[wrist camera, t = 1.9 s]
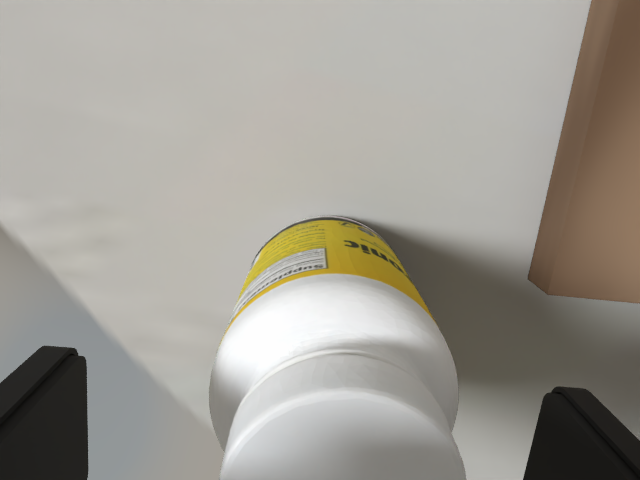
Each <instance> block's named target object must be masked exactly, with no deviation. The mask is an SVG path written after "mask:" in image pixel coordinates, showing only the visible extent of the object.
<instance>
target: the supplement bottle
mask: <svg viewBox="0 0 640 480" xmlns="http://www.w3.org/2000/svg"><path fill="white" fill-rule="evenodd" d="M458 400H459V387H458V378H457V373H456V368H455V364H454V360H453V357H452V355H451V352H450V350H449V348H448V345H447V343H446V341H445V338H444V337H443V335H442V333H441V331H440V329H439V327H438V326H437V324H436V322H435V320H434V319H433V317H432V315H431V313H430V312H429V310H428V308H427V306H426V305H425V303H424V301H423V299H422V298H421V296H420V294H419V293H418V291H417V289H416V288H415V286H414V285H413V283H412V281H411V280H410V278H409V276H408V275H407V273H406V271H405V269H404V268H403V266H402V264H401V263H400V261H399V259H398V258H397V256H396V255H395V253H394V252H393V250H392V249H391V247H390V246H389V245H388V244H387V243H386V242H385V240H384V239H383V238H382V237H381V236H379V235H378V234H377V233H376V232H375V231H373V230H372V229H370V228H369V227H367V226H365V225H364V224H361V223H359V222H357V221H354V220H352V219H348V218H344V217H339V216H315V217H309V218H305V219H302V220H299V221H296V222H294V223H292V224H290V225H288V226H286V227H284V228H283V229H281V230H280V231H278V232H277V233H276V234H274V235H273V236H272V237H271V238H270V239H269V240H268V241H267V242H266V243H265V244H264V245H263V247H262V248H261V249H260V251H259V252H258V254H257V255H256V257H255V259H254V261H253V263H252V265H251V268H250V270H249V273H248V275H247V278H246V280H245V283H244V285H243V288H242V291H241V293H240V296H239V298H238V301H237V303H236V306H235V308H234V311H233V313H232V316H231V318H230V321H229V323H228V326H227V328H226V330H225V333H224V335H223V338H222V340H221V343H220V345H219V348H218V350H217V354H216V358H215V361H214V365H213V369H212V373H211V379H210V387H209V407H210V414H211V419H212V423H213V427H214V430H215V433H216V436H217V438H218V440H219V443H220V445H221V447H222V449H223V451H224V452H225V454H224V458H223V464H222V467H221V472H220V476H219V480H466V474H465V469H464V465H463V461H462V458H461V456H460V453H459V450H458V447H457V445H456V443H455V441H454V439H453V436H452V434H451V432H452V430H453V427H454V423H455V419H456V415H457V410H458Z"/></svg>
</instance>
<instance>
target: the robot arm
mask: <svg viewBox="0 0 640 480" xmlns="http://www.w3.org/2000/svg"><path fill="white" fill-rule="evenodd" d="M87 477H88V425H87V367H86V359H85V357H83V356H78V353H77V350H76V349H75V348H67V347H54V346H42V347H41V348H39V349H38V350H37V351H36V352H35V353H34V354H33V355H32V356H31V357H29V358H28V359H27V360H26V361H25V362H24V363H23V364H22V365H20V366H19V367H18V368H17V369H16V370H15V371H14V372H13V373H11V374H10V375H9V376H8V377H7V378H6V379H4V380H3V381H2V382H1V383H0V480H87ZM523 480H640V441H639V440H638V439H637V438H636V437H635V436H634V435H633V434H632V433H631V432H630V431H629V430H628V429H627V428H626V427H625V426H624V425H623V424H622V423H621V422H620V421H619V420H618V419H617V418H616V417H615V416H614V415H613V414H612V413H611V412H610V411H609V410H608V409H607V408H606V407H605V406H604V405H603V404H602V403H601V402H600V401H599V400H598V399H597V398H596V397H595V396H594V395H593V394H592V393H591V392H589V391H588V390H587V389H582V388H570V387H555V388H554V389H553V390H552V392H551V393H547V394H546V395H545V396H544V398H543V401H542V405H541V410H540V414H539V418H538V422H537V426H536V430H535V434H534V438H533V442H532V446H531V450H530V454H529V458H528V462H527V466H526V470H525V474H524V478H523Z"/></svg>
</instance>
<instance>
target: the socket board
mask: <svg viewBox="0 0 640 480" xmlns="http://www.w3.org/2000/svg"><path fill="white" fill-rule="evenodd" d="M528 279H529V280H530V281H531V282H532V283H534V284H535V285H536V286H537V287H539V288H540V289H541V290H542V291H544V292H545V293H546V294H547V295H556V296H567V297H577V298H588V299H598V300H609V301H619V302H630V303H640V0H592V1H591V5H590V10H589V14H588V19H587V23H586V27H585V32H584V36H583V40H582V45H581V49H580V53H579V58H578V62H577V66H576V71H575V75H574V79H573V84H572V88H571V92H570V97H569V101H568V106H567V110H566V114H565V119H564V123H563V127H562V132H561V136H560V140H559V145H558V149H557V153H556V158H555V162H554V166H553V171H552V175H551V180H550V184H549V188H548V193H547V197H546V201H545V206H544V210H543V214H542V219H541V223H540V227H539V232H538V236H537V240H536V245H535V249H534V253H533V258H532V262H531V267H530V271H529V275H528Z"/></svg>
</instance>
